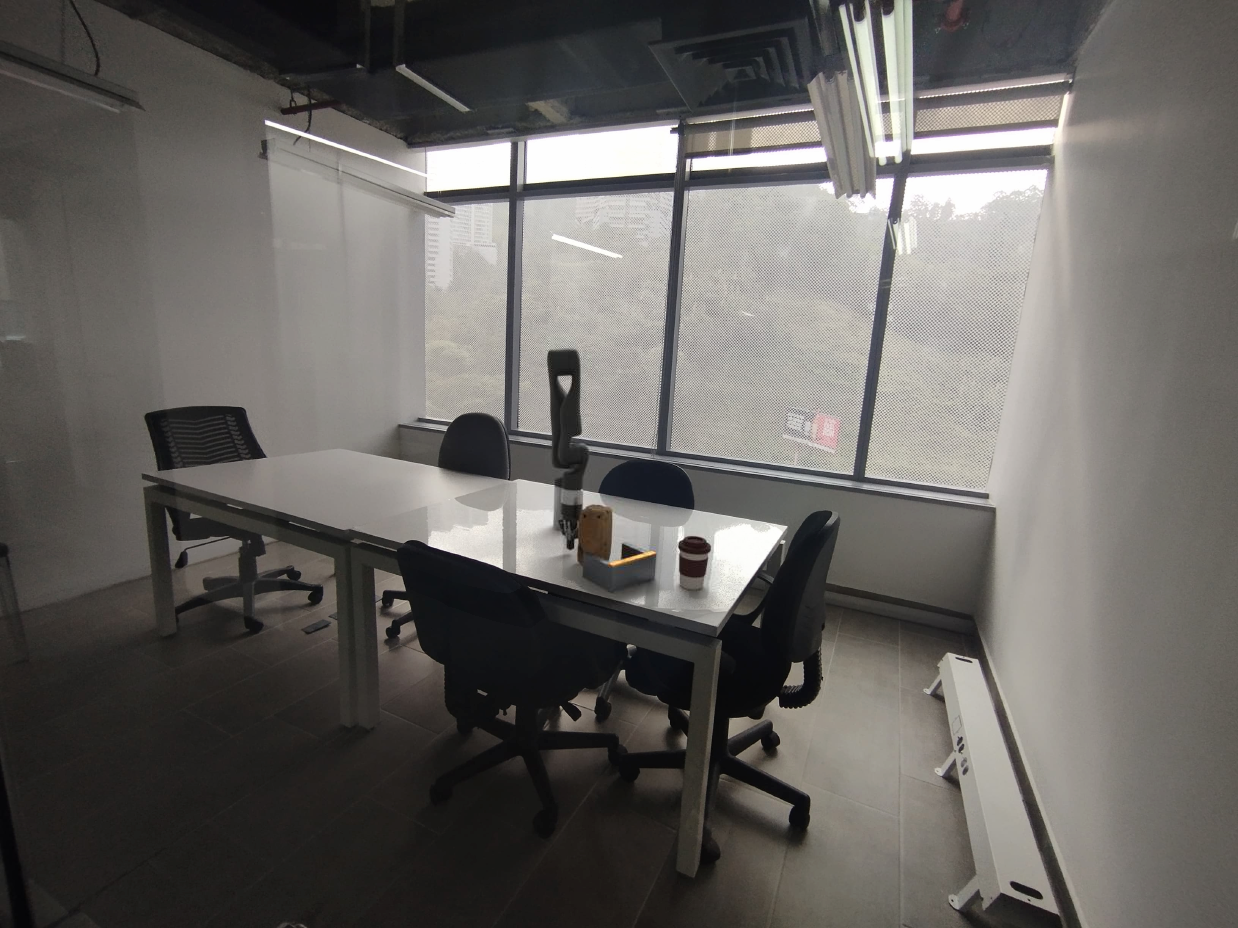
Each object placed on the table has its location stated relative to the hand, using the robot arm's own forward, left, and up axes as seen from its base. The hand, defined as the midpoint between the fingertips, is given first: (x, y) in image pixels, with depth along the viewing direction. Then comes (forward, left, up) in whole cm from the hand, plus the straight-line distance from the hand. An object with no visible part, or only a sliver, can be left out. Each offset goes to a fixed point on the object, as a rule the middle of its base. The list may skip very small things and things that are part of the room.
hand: (570, 548), depth 185 cm
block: (0, +13, -2) cm, 13 cm away
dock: (0, +25, -2) cm, 25 cm away
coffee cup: (-15, +43, -2) cm, 45 cm away
